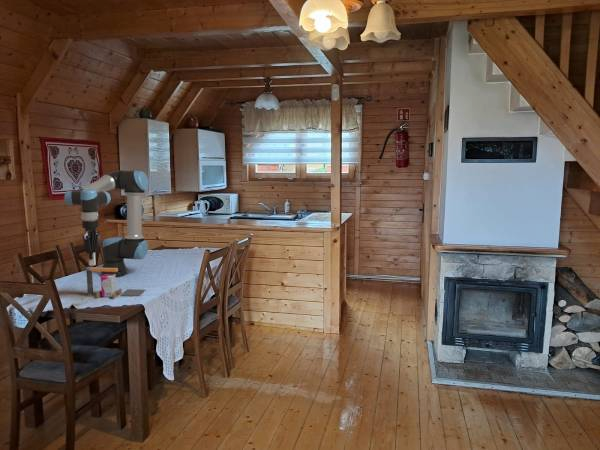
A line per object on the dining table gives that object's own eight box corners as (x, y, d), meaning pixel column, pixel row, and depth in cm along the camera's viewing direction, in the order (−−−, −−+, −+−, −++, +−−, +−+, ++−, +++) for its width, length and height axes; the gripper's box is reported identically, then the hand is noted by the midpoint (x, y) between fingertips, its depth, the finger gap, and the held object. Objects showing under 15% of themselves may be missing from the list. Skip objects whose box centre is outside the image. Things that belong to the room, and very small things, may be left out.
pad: (127, 290, 251) (127, 289, 251) (145, 290, 251) (145, 289, 251) (120, 296, 241) (120, 295, 241) (138, 296, 241) (138, 295, 241)
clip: (87, 269, 241) (87, 266, 240) (118, 270, 241) (118, 267, 240) (84, 271, 238) (84, 268, 237) (115, 272, 237) (115, 268, 237)
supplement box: (116, 294, 244) (115, 273, 242) (112, 297, 239) (111, 277, 237) (105, 294, 244) (104, 273, 242) (101, 297, 238) (100, 276, 236)
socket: (93, 292, 246) (91, 268, 244) (121, 293, 246) (120, 269, 244) (84, 298, 237) (82, 273, 234) (114, 299, 236) (112, 274, 234)
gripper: (91, 222, 222) (93, 268, 226) (103, 218, 235) (105, 262, 238) (76, 221, 222) (78, 268, 226) (88, 217, 235) (91, 261, 238)
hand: (92, 265), depth 232 cm, fingers closed
